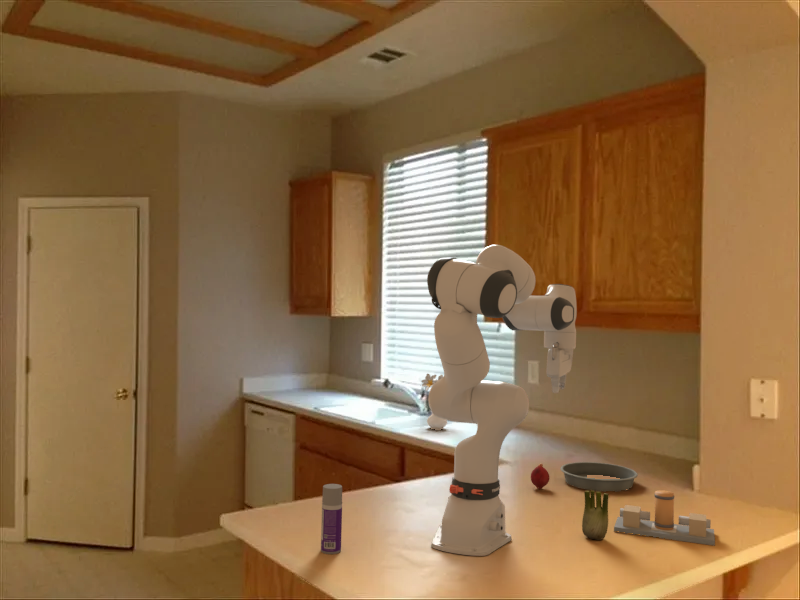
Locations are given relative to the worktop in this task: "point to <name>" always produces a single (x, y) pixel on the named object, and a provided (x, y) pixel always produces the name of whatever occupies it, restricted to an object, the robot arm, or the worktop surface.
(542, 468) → the onion
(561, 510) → the worktop surface
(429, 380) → the flower vase
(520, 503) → the worktop surface
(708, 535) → the bench
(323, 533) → the container
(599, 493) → the fennel bulb
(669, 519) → the sleeve
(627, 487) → the cake pan
